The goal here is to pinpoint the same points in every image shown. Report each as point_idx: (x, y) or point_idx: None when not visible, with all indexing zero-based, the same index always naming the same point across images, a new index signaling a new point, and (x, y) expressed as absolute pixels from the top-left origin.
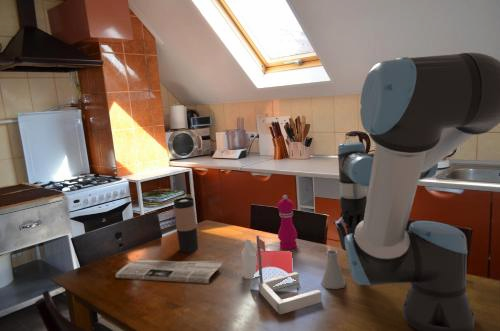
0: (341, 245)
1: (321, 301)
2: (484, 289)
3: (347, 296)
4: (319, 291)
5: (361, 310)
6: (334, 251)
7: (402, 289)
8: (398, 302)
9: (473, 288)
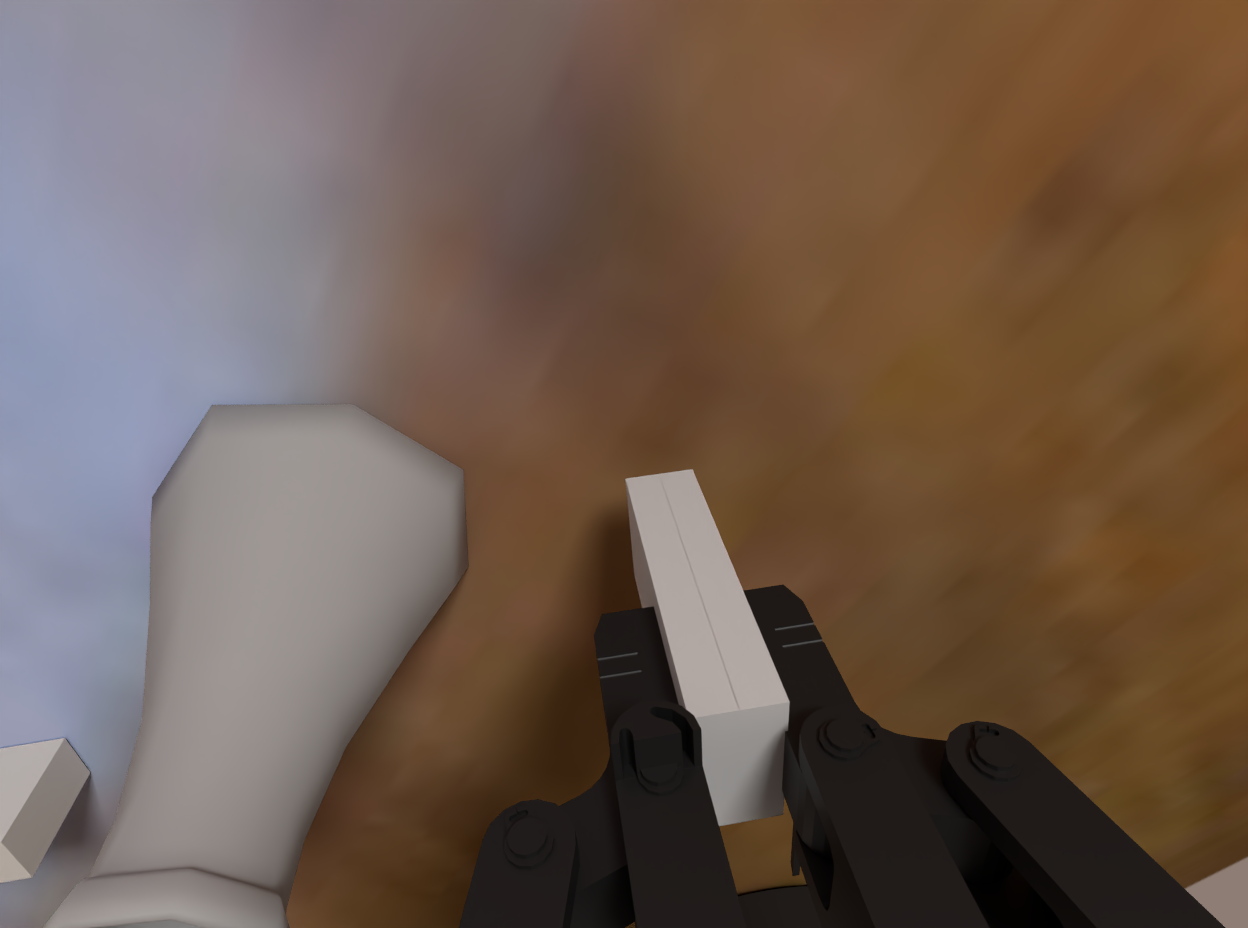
0: (460, 926)
1: (85, 781)
2: (1238, 834)
3: (374, 744)
4: (13, 873)
5: (398, 888)
6: (244, 917)
7: None
8: None
9: (1211, 818)
